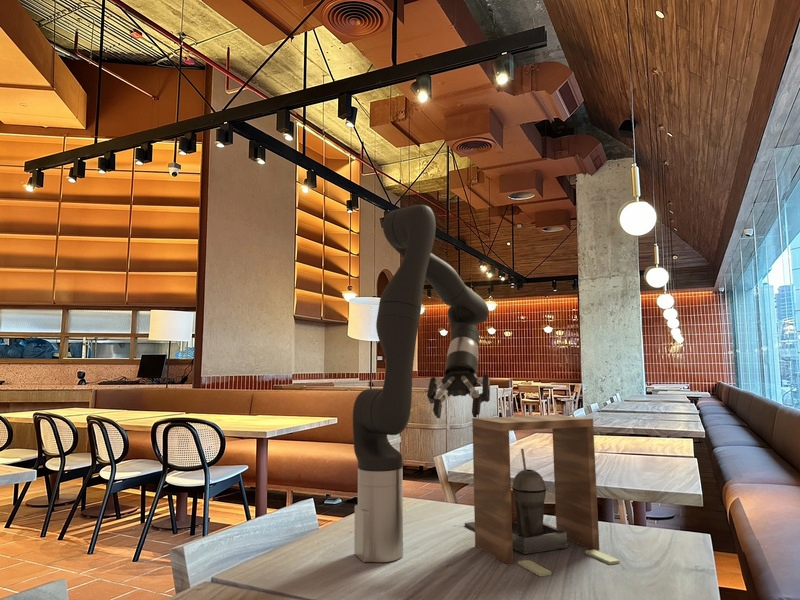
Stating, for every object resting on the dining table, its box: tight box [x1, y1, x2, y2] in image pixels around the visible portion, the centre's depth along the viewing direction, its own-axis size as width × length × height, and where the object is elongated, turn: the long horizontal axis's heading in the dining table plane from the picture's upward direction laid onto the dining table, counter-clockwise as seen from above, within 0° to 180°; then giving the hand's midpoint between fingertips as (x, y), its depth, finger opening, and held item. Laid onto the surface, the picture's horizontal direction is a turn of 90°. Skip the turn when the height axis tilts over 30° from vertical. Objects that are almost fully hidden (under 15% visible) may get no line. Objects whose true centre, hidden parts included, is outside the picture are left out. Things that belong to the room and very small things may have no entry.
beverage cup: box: [511, 448, 547, 537], centre depth 119 cm, size 7×7×20 cm
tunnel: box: [472, 414, 600, 565], centre depth 118 cm, size 23×12×27 cm, turn 112°
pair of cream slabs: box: [517, 549, 621, 577], centre depth 106 cm, size 18×7×1 cm, turn 112°
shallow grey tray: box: [511, 487, 568, 555], centre depth 119 cm, size 11×13×10 cm
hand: (455, 415), depth 122 cm, fingers open, 8 cm apart
